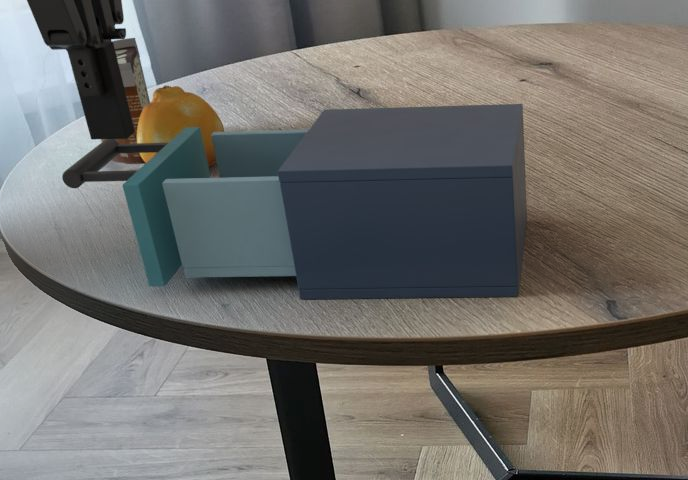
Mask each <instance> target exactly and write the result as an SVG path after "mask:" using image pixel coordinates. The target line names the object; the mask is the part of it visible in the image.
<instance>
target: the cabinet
mask: <svg viewBox="0 0 688 480" xmlns="http://www.w3.org/2000/svg"><path fill="white" fill-rule="evenodd" d="M308 129H309V130H308V132H307V133H306V134H305V136H304V137H303V138H302V140H301V141H300V142H299V144H298V145H297V146H296V148H295V149H294V150H293V152H292V153H291V154H290V156H289V157H288V158H287V160H286V161H285V162H284V164H283V165H282V166H281V168H280V169H279V170H278V177H279V182H280V188H281V193H282V199H283V205H284V210H285V216H286V221H287V227H288V233H289V238H290V244H291V249H292V255H293V261H294V266H295V272H296V276H295V278H296V282H297V289H298V295H299V299H300V300H348V299H349V300H355V299H356V300H357V299H361V300H362V299H364V300H365V299H427V298H428V299H429V298H431V299H433V298H435V299H437V298H441V299H443V298H507V297H509V298H513V297H515V298H516V297H517V298H518V297H519V296H520V295H519V294H520V286H521V285H520V284H521V278H522V277H521V276H522V269H523V268H522V267H523V258H524V252H525V251H524V250H525V243H526V242H525V241H526V231H527V224H528V204H527V180H526V179H527V178H526V157H525V156H526V153H525V152H526V151H525V129H524V104H523V103H505V104H504V103H502V104H499V103H498V104H471V105H467V104H466V105H439V106H437V105H435V106H404V107H403V106H402V107H400V106H399V107H372V108H371V107H370V108H367V107H366V108H333V109H323V110H322V112H321V113H320V114H319V116H317V118H316V120H314V122H313V124H312V125H311V126H310V127H309V128H308Z"/></svg>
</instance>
